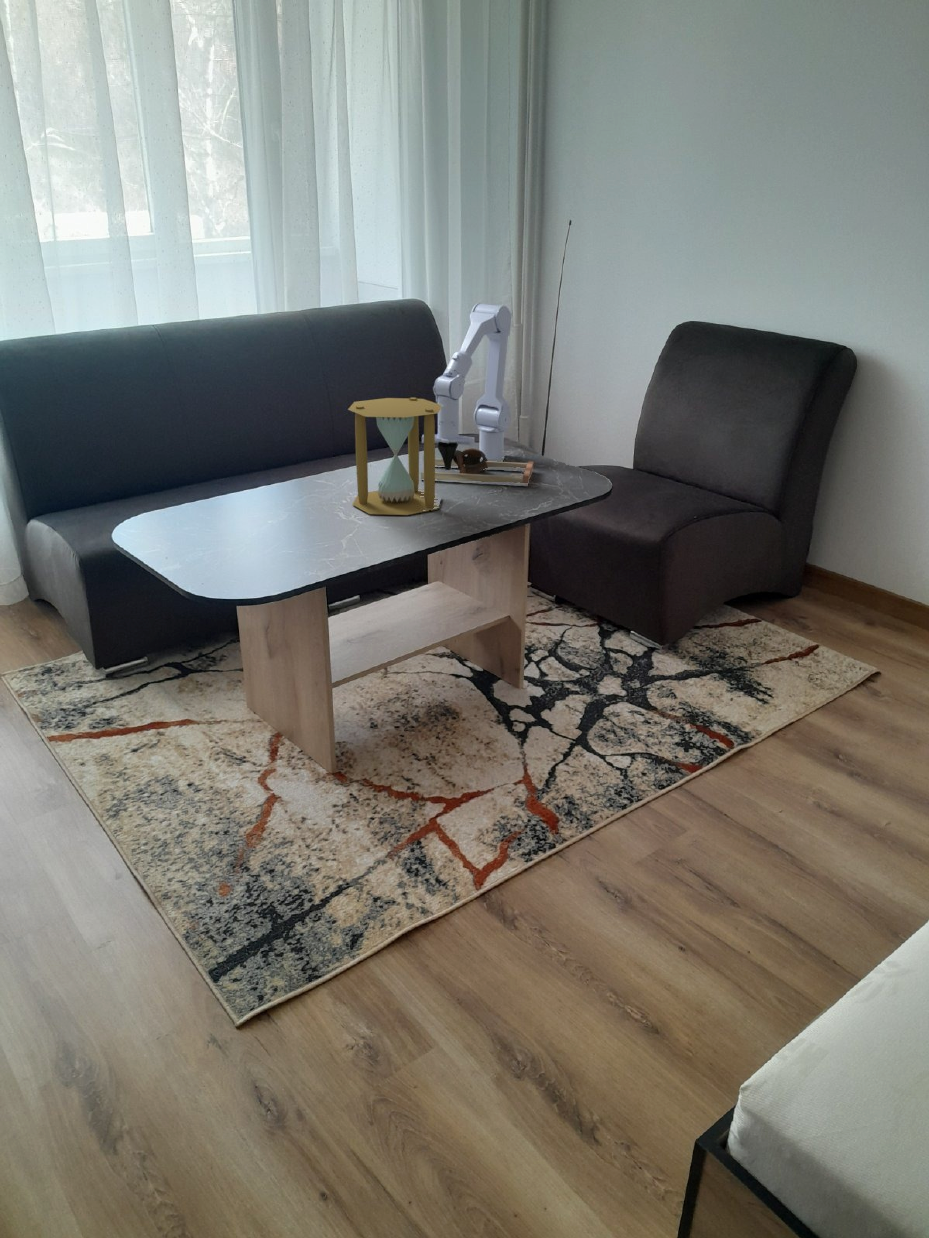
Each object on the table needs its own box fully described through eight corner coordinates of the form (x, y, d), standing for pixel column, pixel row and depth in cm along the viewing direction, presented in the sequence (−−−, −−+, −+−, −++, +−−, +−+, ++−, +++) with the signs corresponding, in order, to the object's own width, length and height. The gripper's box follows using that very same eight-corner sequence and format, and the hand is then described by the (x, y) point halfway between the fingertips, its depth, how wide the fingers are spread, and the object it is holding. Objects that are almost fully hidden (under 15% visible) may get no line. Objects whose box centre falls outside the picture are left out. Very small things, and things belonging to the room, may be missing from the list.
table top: (431, 466, 271) (431, 456, 270) (533, 472, 267) (533, 461, 266) (420, 481, 258) (420, 470, 256) (527, 487, 254) (528, 476, 252)
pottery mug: (494, 473, 267) (494, 453, 260) (476, 494, 262) (475, 474, 256) (460, 456, 271) (459, 436, 264) (441, 477, 267) (439, 456, 260)
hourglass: (432, 487, 253) (432, 393, 242) (453, 513, 233) (453, 412, 223) (345, 493, 247) (341, 397, 237) (358, 520, 227) (354, 417, 217)
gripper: (419, 422, 255) (419, 471, 260) (472, 425, 253) (471, 474, 258) (424, 417, 261) (424, 464, 267) (476, 419, 259) (475, 467, 265)
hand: (448, 469), depth 263 cm, fingers closed
